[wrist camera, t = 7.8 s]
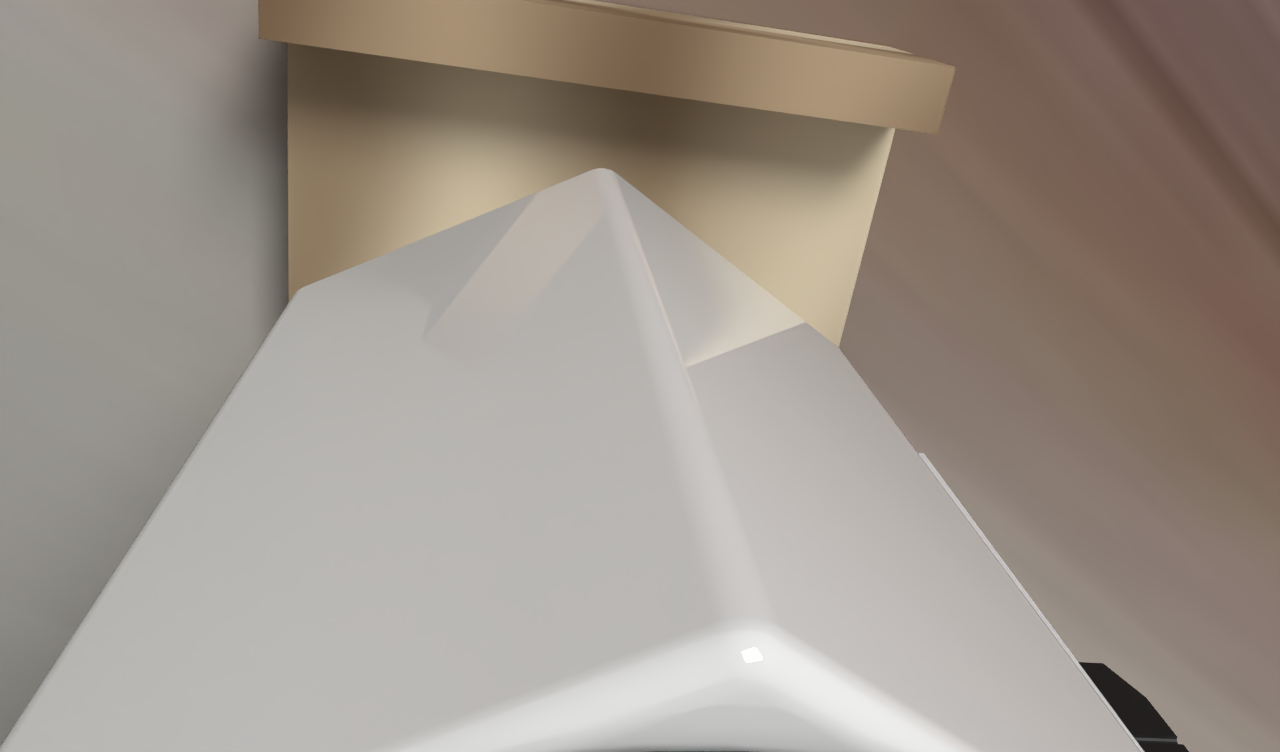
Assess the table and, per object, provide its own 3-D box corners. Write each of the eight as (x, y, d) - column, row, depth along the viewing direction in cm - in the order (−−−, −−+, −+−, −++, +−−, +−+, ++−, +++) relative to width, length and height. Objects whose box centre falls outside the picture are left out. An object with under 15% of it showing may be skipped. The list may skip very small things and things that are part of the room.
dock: (303, 485, 23) (268, 572, 20) (304, -46, 18) (257, -41, 15) (771, 516, 25) (807, 600, 22) (888, 46, 20) (956, 67, 17)
